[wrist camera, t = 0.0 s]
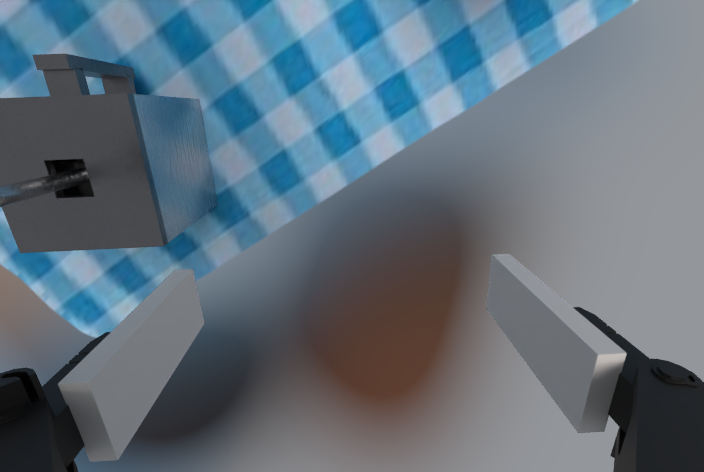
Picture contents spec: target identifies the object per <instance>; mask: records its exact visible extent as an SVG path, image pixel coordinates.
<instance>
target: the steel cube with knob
mask: <svg viewBox="0 0 704 472" xmlns="http://www.w3.org/2000/svg"><path fill="white" fill-rule="evenodd" d="M33 58H34V61H35V64H36V67H37V70H43V73H44V76H45V79H46V83H47V86H48V89H49V92H50V95H51V97H25V98H0V186H4V185H8V184H12V183H17V182H21V181H26V180H30V179H35V178H39V177H44V176H48V175H53V174H57V173H56V170H55V167H54V164H53V161H52V160H66V159H84V163H85V166H86V169H87V173H88V176H89V179H90V183H91V186H92V189H93V193H94V195H78V196H64V194H63V191H62V190H59V191H55V192H52V193H48V194H45V195H41V196H38V197H34V198H31V199H27V200H24V201H20V202H17V203H13V204H10V205H7V206H3V207H2V209H3V211H4V214H5V216H6V219H7V221H8V224H9V226H10V229H11V231H12V234H13V236H14V239H15V241H16V244H17V246H18V249H19V251H20V253H29V252H51V251H72V250H93V249H114V248H135V247H156V246H165V245H166V244H167V243H169V242H170V241H171V240H172V239H174V238H175V237H176V236H178V235H179V234H180V233H182V232H183V231H184V230H185V229H187V228H188V227H189V226H191V225H192V224H193V223H194V222H196V221H197V220H198V219H200V218H201V217H202V216H203V215H205V214H206V213H207V212H209V211H210V210H211V209H212V208H214V207H215V206H216V205H218V203H217V198H216V192H215V186H214V181H213V175H212V169H211V164H210V158H209V152H208V147H207V141H206V135H205V130H204V124H203V119H202V113H201V107H200V102H199V99H190V98H177V97H164V96H152V95H139V94H136V90H135V86H134V81H133V79H136V78H135V74H134V70H133V68H132V67H127V66H122V65H117V64H113V63H108V62H103V61H98V60H93V59H88V58H83V57H79V56H74V55H69V54H45V55H33ZM85 76H88V77H95V78H102V82H103V86H104V89H105V93H106V94H103V95H90V93H89V89H88V85H87V82H86V78H85Z"/></svg>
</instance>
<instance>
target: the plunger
mask: <svg viewBox="0 0 704 472" xmlns="http://www.w3.org/2000/svg"><path fill="white" fill-rule="evenodd" d="M52 161H53V164H54V167H55V170H56V173H57V174H53V175H48V176H44V177H39V178H35V179H30V180H26V181H21V182H17V183H12V184H8V185H4V186H0V207H3V206H7V205H10V204H13V203H17V202H20V201H24V200H27V199H31V198H34V197H38V196H41V195H45V194H48V193H52V192H55V191H59V190H62V191H63V194H64V196H78V195H94V193H93V189H92V186H91V183H90V179H89V176H88V173H87V169H86V166H85V163H84V159H66V160H52Z"/></svg>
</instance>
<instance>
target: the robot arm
mask: <svg viewBox="0 0 704 472" xmlns="http://www.w3.org/2000/svg"><path fill="white" fill-rule="evenodd" d="M486 309H487V311H488V312H489V313H490V314H491V316H492V317H493V318H494V320H495V321H496V323H497V324H498V325H499V327H500V328H501V329H502V331H503V332H504V333H505V335H506V336H507V338H508V339H509V340H510V342H511V343H512V344H513V346H514V347H515V348H516V349H517V351H518V352H519V354H520V355H521V356H522V358H523V359H524V360H525V362H526V363H527V365H528V366H529V367H530V369H531V370H532V371H533V373H534V374H535V375H536V377H537V378H538V379H539V381H540V382H541V383H542V385H543V386H544V388H545V389H546V390H547V392H548V393H549V394H550V395H551V397H552V398H553V400H554V401H555V402H556V404H557V405H558V406H559V408H560V409H561V411H562V412H563V413H564V415H565V416H566V417H567V418H568V420H569V421H570V423H571V424H572V425H573V427H574V428H575V429H576V431H577V432H578V433H586V432H604V430H605V427H606V424H607V420H608V417H609V415H610V416H611V418H612V419H613V420H614V421H615V422H616V423H617V424H618V426H619V430H618V433H617V437H616V440H615V443H614V446H613V450H612V453H611V456H612V457H614V458H615V461H614V472H704V382H702V380H701V379H700V378H698V377H697V376H696V375H695V374H694V373H693V372H691V371H689V370H687V369H685V368H684V367H682V366H679V365H677V364H674V363H672V362H669V361H664V360H659V359H649V358H648V357H647V356H645V355H644V354H643V353H642V352H641V351H639V350H638V349H637V348H636V347H634V346H633V345H632V344H631V343H629V342H628V341H627V340H626V339H624V338H623V337H622V336H621V335H619V334H616V331H614V330H613V329H612V328H611V327H609V326H607V325H606V323H604V322H603V321H602V320H601V319H599V318H598V317H597V316H596V315H594V314H592V313H590V312H588V311H586V310H584V309H582V308H580V307H575V308H574V307H572V306H570V305H569V304H568V303H567V302H565V300H563V299H562V298H561V297H559V295H557V294H556V293H555V292H554V291H553V290H552V289H550V288H549V287H548V286H547V285H545V284H544V283H543V282H542V281H541V280H540V279H538V278H537V277H536V276H535V275H534V274H533V273H531V272H530V271H529V270H528V269H527V268H525V267H524V266H523V265H522V264H521V263H519V262H518V261H517V260H516V259H515V258H513V257H512V256H511V255H510V254H498V255H497V254H496V255H492V261H491V270H490V279H489V288H488V297H487V306H486ZM203 325H204V319H203V314H202V309H201V305H200V300H199V296H198V291H197V286H196V282H195V277H194V272H193V269H184V270H174V271H173V272H172V273H171V274H170V275H169V276H168V277H167V278H166V279H165V280H164V281H163V282H162V283H161V284H160V285H159V286H158V287H157V288H156V289H155V290H154V291H153V292H152V293H151V294H150V295H149V296H148V297H147V298H146V299H145V300H144V301H143V302H142V303H140V304H139V305H138V306H137V307H136V308H135V309H134V310H133V311H132V312H131V313H130V314H129V315H128V316H127V317H126V318H125V319H124V320H123V321H122V322H121V323H120V324H119V325H118V326H117V327H116V328H115V329H114V330H113V331H112V332H106V333H104V334H103V335H101V336H99V337H98V338H96V339H95V340H93V341H91V342H90V343H89V344H88V345H87V346H86V347H84V349H82V350H81V351H80V352H79V355H76V356H75V357H74V358H73V359H72V360H70V361H69V364H66V365H65V366H64V367H63V368H62V369H61V370H60V371H59V372H58V373H56V374H55V375H54V376H53V377H52V378H51V379H50V380H49V381H48V382H47V383H46V384H45V385H44V386H43V387H42V386H41V384H40V382H39V380H38V377H37V375H36V373H35V371H34V370H33V369H29V368H20V369H13V370H10V371H7V372H4V373H0V472H78V469H77V466H76V464H75V462H74V458H75V457H76V455H77V454H78V453H79V452H80V450H81V449H82V448H83V447H84V448H85V450H86V453H87V455H88V458H89V460H90V461H91V462H92V461H109V460H118V459H119V457H120V456H121V454H122V453H123V451H124V449H125V448H126V446H127V445H128V443H129V442H130V440H131V438H132V437H133V435H134V434H135V432H136V430H137V429H138V427H139V426H140V424H141V423H142V421H143V419H144V418H145V416H146V415H147V413H148V412H149V410H150V408H151V407H152V405H153V404H154V402H155V400H156V399H157V397H158V396H159V394H160V393H161V391H162V389H163V388H164V386H165V385H166V383H167V382H168V380H169V378H170V377H171V375H172V374H173V372H174V370H175V369H176V367H177V366H178V364H179V363H180V361H181V359H182V358H183V356H184V355H185V353H186V351H187V350H188V348H189V347H190V345H191V344H192V342H193V340H194V339H195V337H196V336H197V334H198V332H199V331H200V329H201V328H202V326H203Z"/></svg>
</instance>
